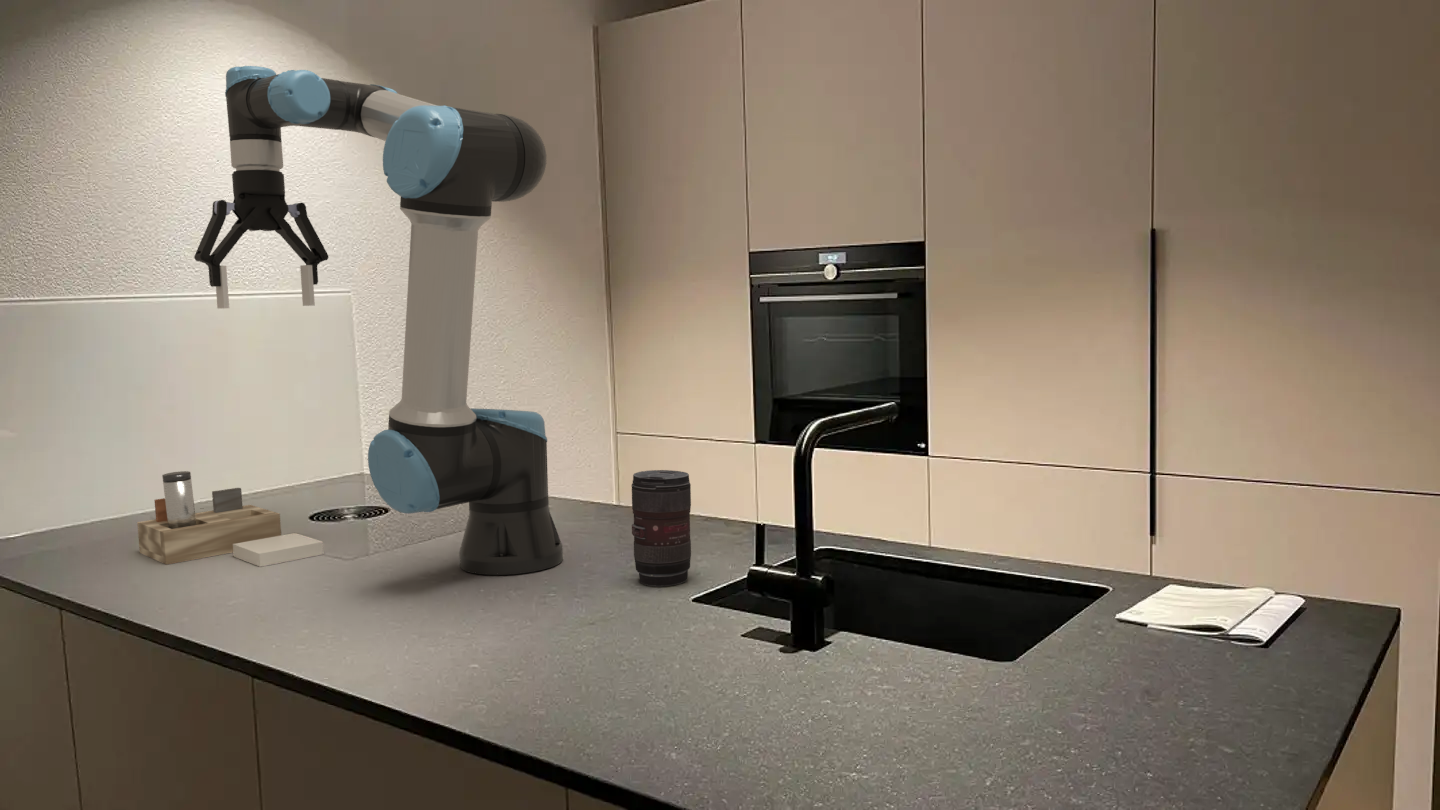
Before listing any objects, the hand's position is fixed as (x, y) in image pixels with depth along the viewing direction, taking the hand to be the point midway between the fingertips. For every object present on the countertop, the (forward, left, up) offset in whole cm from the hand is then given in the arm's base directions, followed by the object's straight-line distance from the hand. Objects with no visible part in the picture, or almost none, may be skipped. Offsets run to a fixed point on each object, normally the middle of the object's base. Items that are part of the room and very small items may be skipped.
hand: (267, 307), depth 177 cm
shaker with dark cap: (+8, +13, -38) cm, 40 cm away
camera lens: (-63, -26, -39) cm, 78 cm away
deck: (-5, +3, -39) cm, 39 cm away
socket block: (+9, +8, -39) cm, 41 cm away
